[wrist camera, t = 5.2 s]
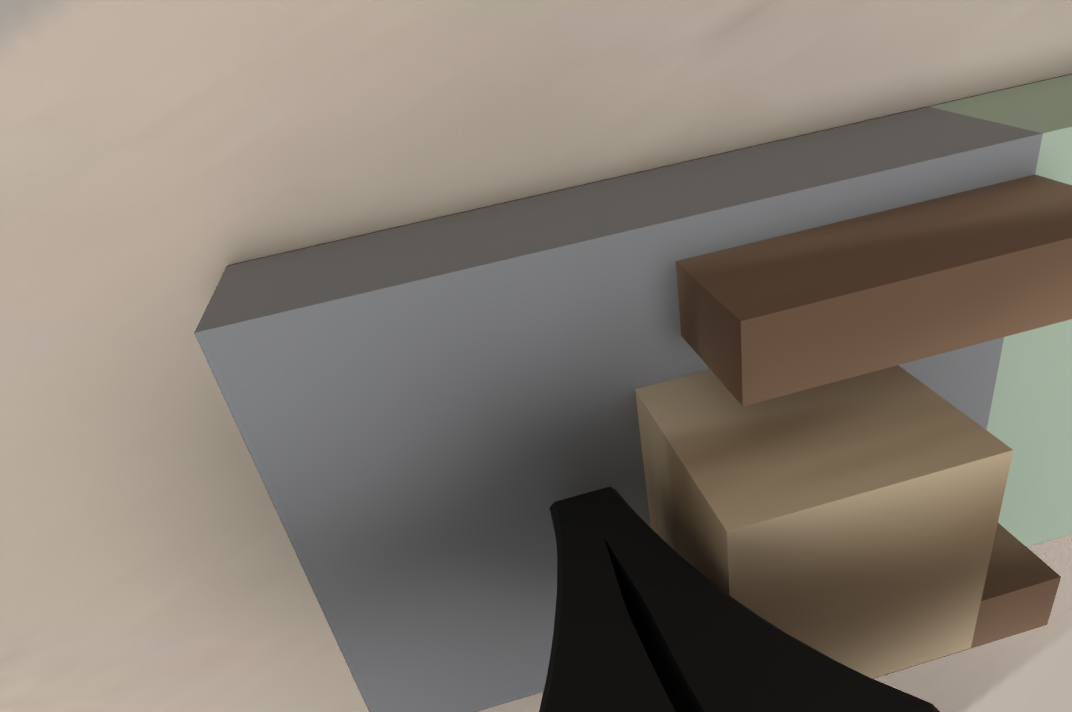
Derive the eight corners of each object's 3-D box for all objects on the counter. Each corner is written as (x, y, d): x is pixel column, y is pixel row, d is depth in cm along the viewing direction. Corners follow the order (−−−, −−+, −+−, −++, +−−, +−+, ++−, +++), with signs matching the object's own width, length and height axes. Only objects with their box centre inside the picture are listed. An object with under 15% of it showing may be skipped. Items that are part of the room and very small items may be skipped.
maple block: (841, 504, 16) (970, 647, 13) (654, 557, 16) (734, 722, 12) (853, 332, 14) (1013, 450, 10) (635, 389, 13) (727, 531, 10)
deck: (1284, 380, 22) (1405, 433, 19) (380, 637, 19) (382, 739, 17) (1453, -13, 17) (1653, -10, 14) (226, 266, 14) (193, 332, 11)
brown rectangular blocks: (964, 545, 18) (1046, 624, 16) (701, 623, 17) (749, 717, 15) (1035, 174, 13) (1166, 213, 11) (675, 260, 12) (740, 321, 10)
